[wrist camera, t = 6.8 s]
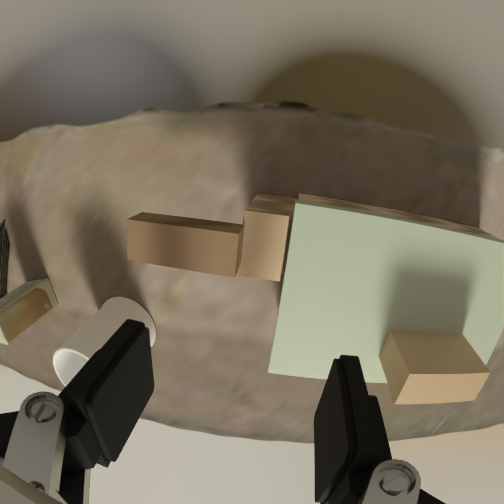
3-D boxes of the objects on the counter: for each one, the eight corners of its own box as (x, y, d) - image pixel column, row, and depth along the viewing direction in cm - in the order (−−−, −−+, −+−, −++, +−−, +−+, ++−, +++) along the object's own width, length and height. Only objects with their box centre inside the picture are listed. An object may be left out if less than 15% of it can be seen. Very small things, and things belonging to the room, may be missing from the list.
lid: (522, 245, 21) (570, 274, 14) (471, 373, 26) (497, 418, 19) (295, 199, 23) (296, 222, 16) (269, 362, 28) (261, 421, 21)
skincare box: (35, 305, 40) (-14, 343, 29) (26, 281, 39) (-27, 315, 28) (60, 304, 39) (8, 346, 28) (50, 277, 38) (-7, 315, 27)
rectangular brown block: (244, 224, 22) (239, 234, 20) (240, 264, 23) (234, 277, 21) (142, 212, 23) (126, 219, 21) (141, 249, 24) (127, 259, 22)
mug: (167, 372, 40) (134, 433, 29) (116, 365, 41) (77, 418, 30) (149, 297, 37) (100, 352, 25) (94, 294, 38) (40, 341, 26)
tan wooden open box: (479, 228, 29) (526, 254, 20) (445, 333, 33) (475, 378, 24) (258, 187, 31) (245, 203, 22) (244, 311, 36) (229, 362, 27)
